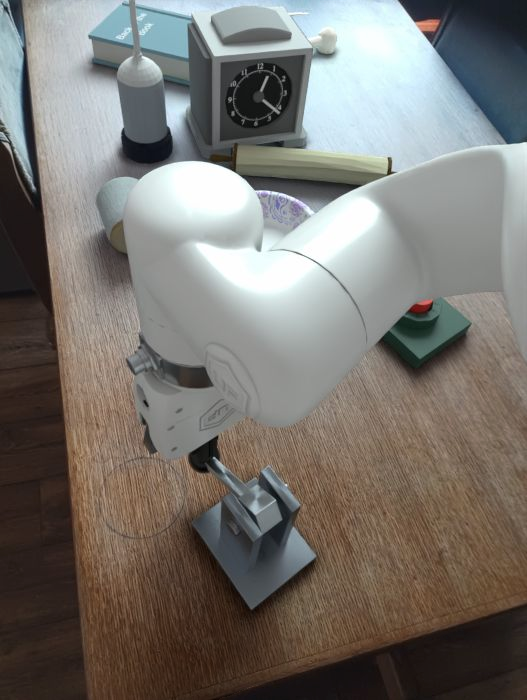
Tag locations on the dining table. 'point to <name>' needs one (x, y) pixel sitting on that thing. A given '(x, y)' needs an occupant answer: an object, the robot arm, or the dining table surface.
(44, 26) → the dining table surface
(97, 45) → the book
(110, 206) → the ceramic mug
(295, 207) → the paper bowls
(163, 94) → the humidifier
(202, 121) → the alarm clock
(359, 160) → the rolling pin
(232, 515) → the tap bracket
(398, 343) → the button block
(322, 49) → the faucet
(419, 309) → the button
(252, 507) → the tap lever
